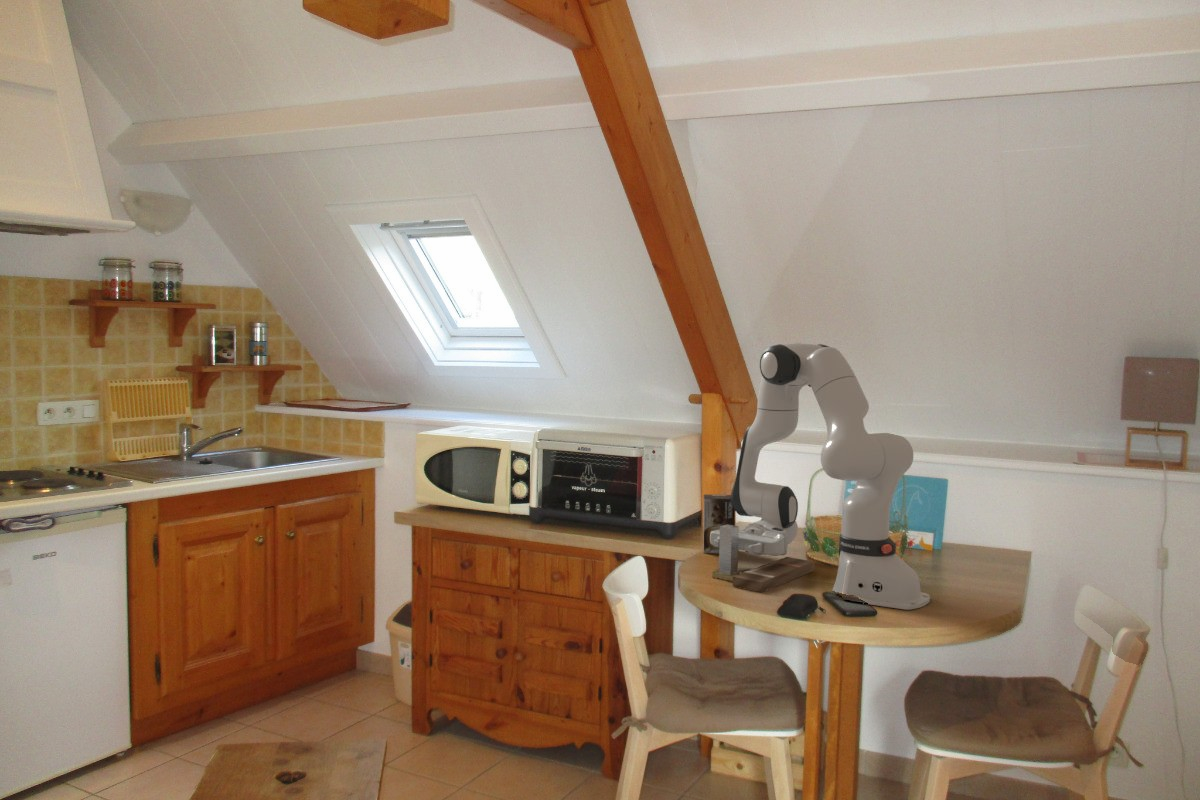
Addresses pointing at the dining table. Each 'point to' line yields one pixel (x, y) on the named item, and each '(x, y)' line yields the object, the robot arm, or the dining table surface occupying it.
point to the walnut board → (773, 574)
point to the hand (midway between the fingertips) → (731, 546)
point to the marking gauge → (728, 553)
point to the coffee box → (716, 518)
